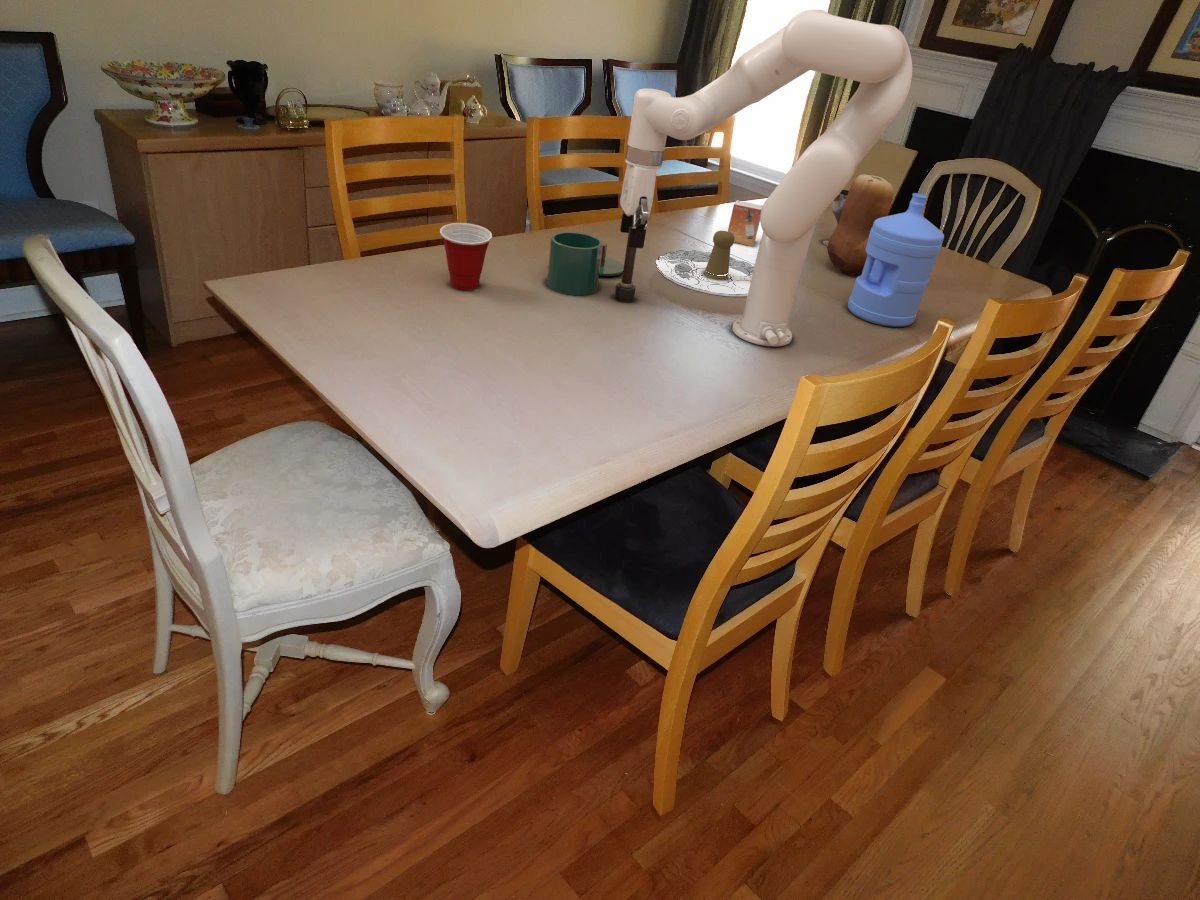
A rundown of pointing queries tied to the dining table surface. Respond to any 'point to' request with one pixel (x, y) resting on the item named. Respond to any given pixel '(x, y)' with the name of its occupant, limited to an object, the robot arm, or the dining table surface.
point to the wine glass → (838, 207)
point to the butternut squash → (859, 222)
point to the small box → (745, 222)
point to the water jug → (896, 267)
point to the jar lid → (609, 265)
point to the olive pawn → (720, 255)
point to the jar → (574, 263)
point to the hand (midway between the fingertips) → (631, 239)
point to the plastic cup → (465, 253)
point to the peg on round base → (627, 276)
